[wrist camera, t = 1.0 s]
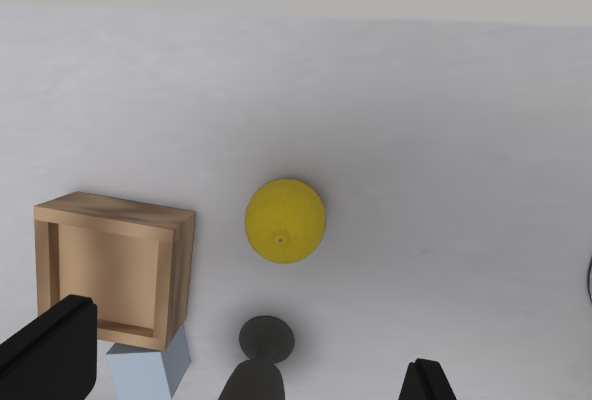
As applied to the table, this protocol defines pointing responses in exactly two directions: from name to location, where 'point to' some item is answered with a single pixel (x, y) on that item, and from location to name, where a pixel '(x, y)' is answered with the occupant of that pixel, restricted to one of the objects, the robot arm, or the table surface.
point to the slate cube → (148, 369)
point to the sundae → (260, 361)
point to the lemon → (285, 221)
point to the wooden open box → (117, 264)
